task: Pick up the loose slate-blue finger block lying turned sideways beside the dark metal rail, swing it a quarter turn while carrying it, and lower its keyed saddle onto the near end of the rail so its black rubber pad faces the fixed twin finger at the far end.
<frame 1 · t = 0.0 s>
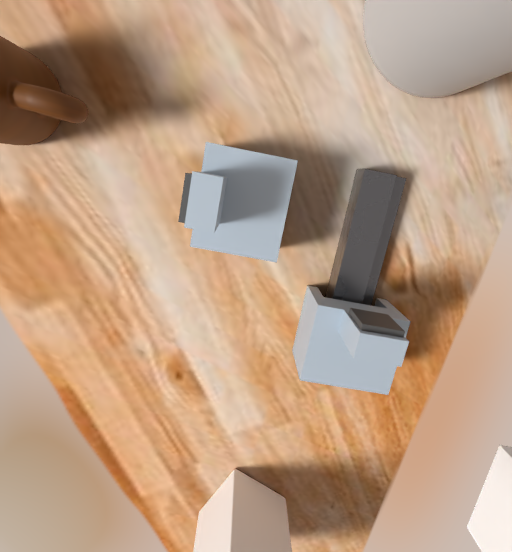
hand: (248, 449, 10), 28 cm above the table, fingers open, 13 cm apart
milk carton: (242, 502, 45), on the table
cylinder vase: (433, 19, 33), on the table
finger a: (332, 324, 39), on the table
finger b: (244, 193, 36), on the table
rail: (344, 276, 38), on the table
mug: (49, 107, 34), on the table
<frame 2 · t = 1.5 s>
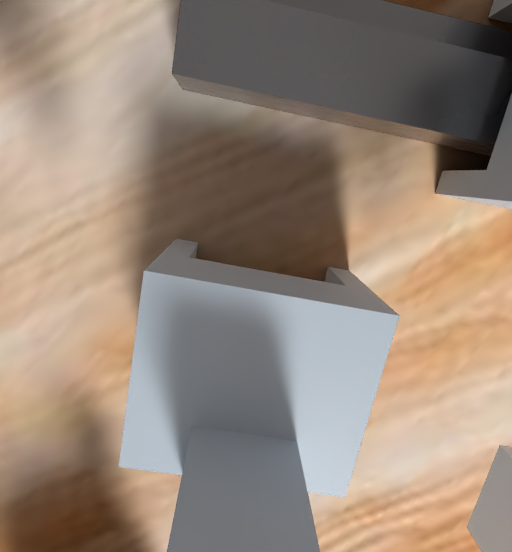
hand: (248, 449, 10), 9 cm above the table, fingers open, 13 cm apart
finger b: (237, 323, 19), on the table
rail: (426, 105, 16), on the table
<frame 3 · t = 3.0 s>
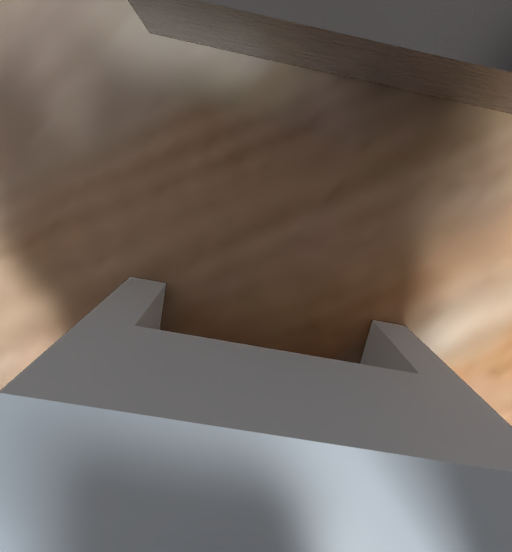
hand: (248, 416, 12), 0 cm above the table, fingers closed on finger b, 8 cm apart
finger b: (229, 405, 12), on the table, touching gripper
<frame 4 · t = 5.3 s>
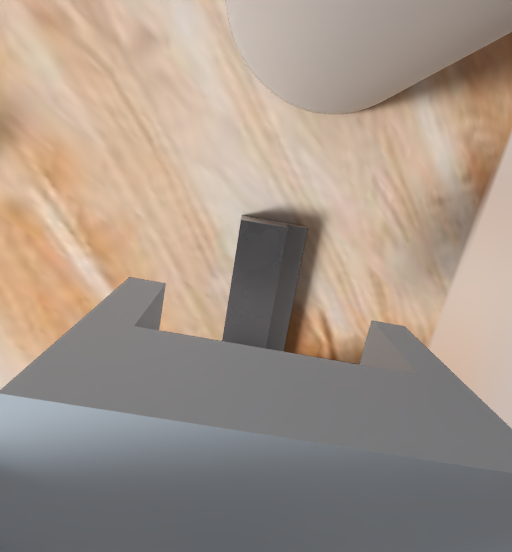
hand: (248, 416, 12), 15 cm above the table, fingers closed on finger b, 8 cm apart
cylinder vase: (334, 1, 23), on the table
finger b: (228, 406, 12), point 15 cm above the table, touching gripper
rail: (239, 357, 28), on the table
when the fingers open (2 cm above the table, at t = 7.5 s): finger b drops 2 cm, on the table.
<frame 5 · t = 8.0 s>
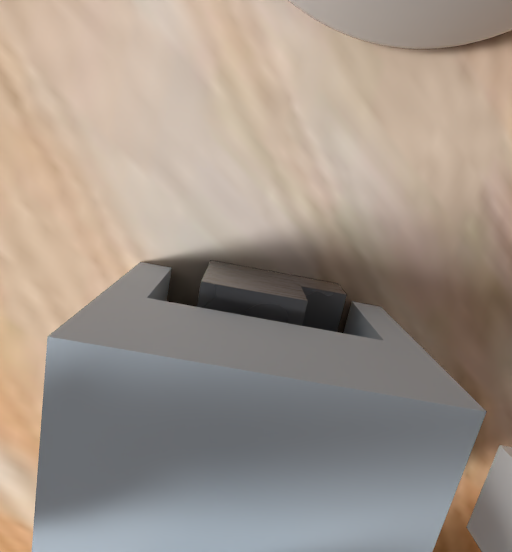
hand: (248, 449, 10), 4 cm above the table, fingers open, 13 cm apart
finger b: (226, 377, 14), on the table
rail: (204, 517, 15), on the table
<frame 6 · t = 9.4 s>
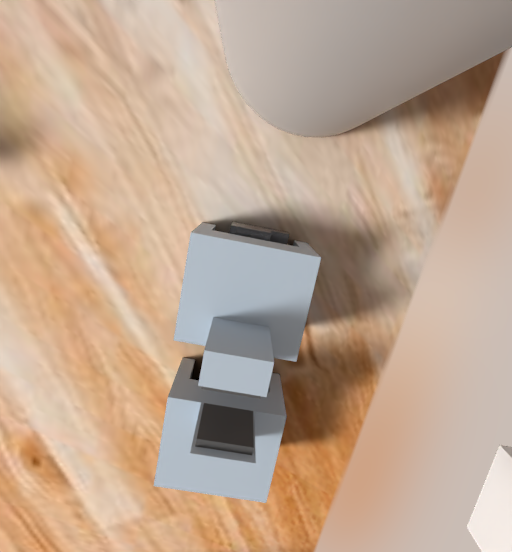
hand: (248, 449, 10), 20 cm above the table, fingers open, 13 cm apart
cylinder vase: (315, 42, 27), on the table
finger a: (217, 402, 33), on the table
finger b: (238, 275, 30), on the table
rail: (227, 347, 32), on the table
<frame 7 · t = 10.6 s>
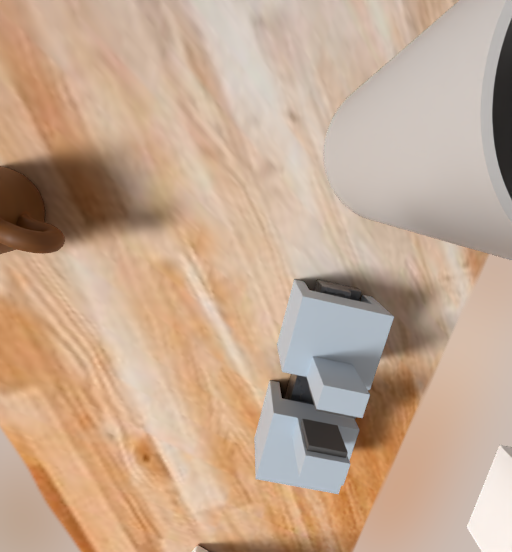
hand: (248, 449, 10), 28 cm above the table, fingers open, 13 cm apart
cylinder vase: (389, 152, 36), on the table
finger a: (293, 415, 42), on the table
finger b: (318, 319, 39), on the table
rail: (305, 373, 41), on the table
mug: (32, 215, 37), on the table
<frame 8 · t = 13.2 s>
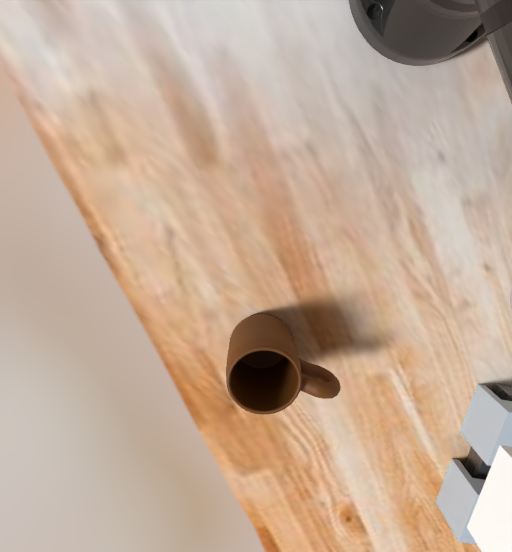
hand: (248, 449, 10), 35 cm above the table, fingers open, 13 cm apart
finger a: (467, 484, 53), on the table
finger b: (493, 412, 50), on the table
rail: (479, 452, 51), on the table
mug: (278, 345, 47), on the table
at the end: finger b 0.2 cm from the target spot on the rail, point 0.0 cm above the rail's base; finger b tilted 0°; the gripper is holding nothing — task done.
